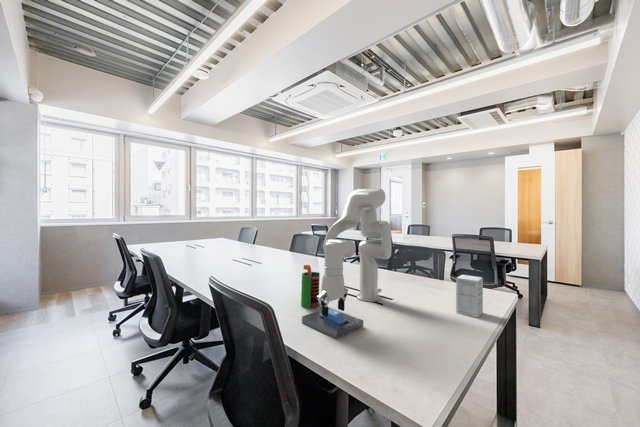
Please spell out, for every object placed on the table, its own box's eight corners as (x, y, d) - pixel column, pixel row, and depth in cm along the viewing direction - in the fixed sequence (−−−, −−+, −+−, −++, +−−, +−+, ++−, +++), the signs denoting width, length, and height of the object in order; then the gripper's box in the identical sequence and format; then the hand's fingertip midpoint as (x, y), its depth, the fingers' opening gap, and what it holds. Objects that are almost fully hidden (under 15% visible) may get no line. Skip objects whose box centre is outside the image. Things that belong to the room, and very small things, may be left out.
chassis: (328, 313, 127) (328, 307, 127) (363, 326, 113) (363, 320, 113) (301, 322, 116) (302, 316, 116) (336, 339, 102) (336, 331, 102)
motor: (316, 309, 132) (317, 267, 132) (298, 307, 134) (299, 266, 134) (320, 302, 142) (321, 263, 142) (304, 301, 144) (304, 263, 144)
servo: (327, 319, 120) (327, 306, 120) (347, 328, 112) (347, 314, 112) (319, 322, 117) (319, 309, 117) (339, 331, 109) (339, 316, 109)
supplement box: (483, 312, 130) (483, 277, 130) (478, 318, 123) (478, 280, 123) (461, 307, 137) (461, 274, 137) (455, 312, 130) (455, 277, 130)
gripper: (340, 267, 123) (340, 305, 123) (312, 273, 111) (311, 315, 111) (354, 270, 117) (353, 310, 118) (325, 276, 105) (324, 321, 106)
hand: (333, 312), depth 114 cm, fingers open, 9 cm apart
